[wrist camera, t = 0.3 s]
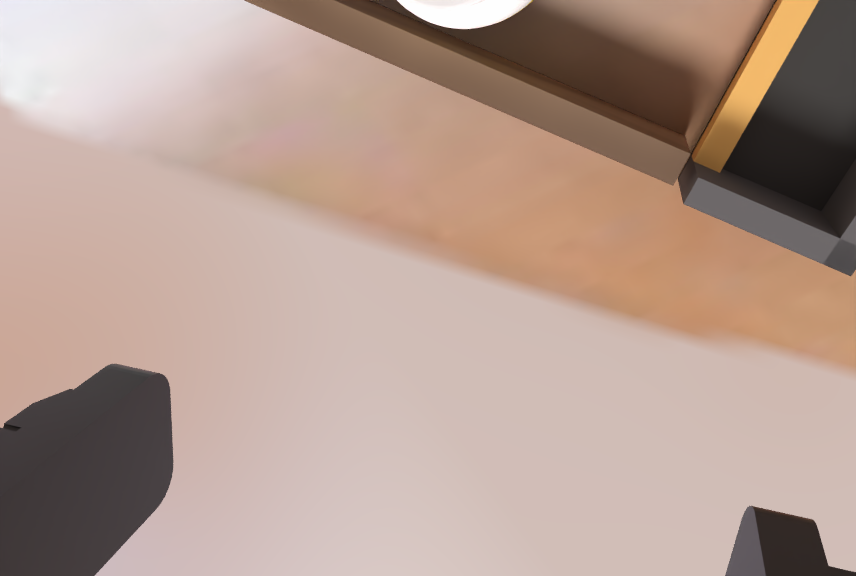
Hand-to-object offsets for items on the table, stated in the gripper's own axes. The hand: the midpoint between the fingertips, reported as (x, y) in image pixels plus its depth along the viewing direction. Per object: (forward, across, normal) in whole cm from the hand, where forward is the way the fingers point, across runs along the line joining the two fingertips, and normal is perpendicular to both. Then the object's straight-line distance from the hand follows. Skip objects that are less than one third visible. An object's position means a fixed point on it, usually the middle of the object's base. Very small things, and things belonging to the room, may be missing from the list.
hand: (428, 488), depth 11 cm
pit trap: (+22, -8, -4) cm, 23 cm away
